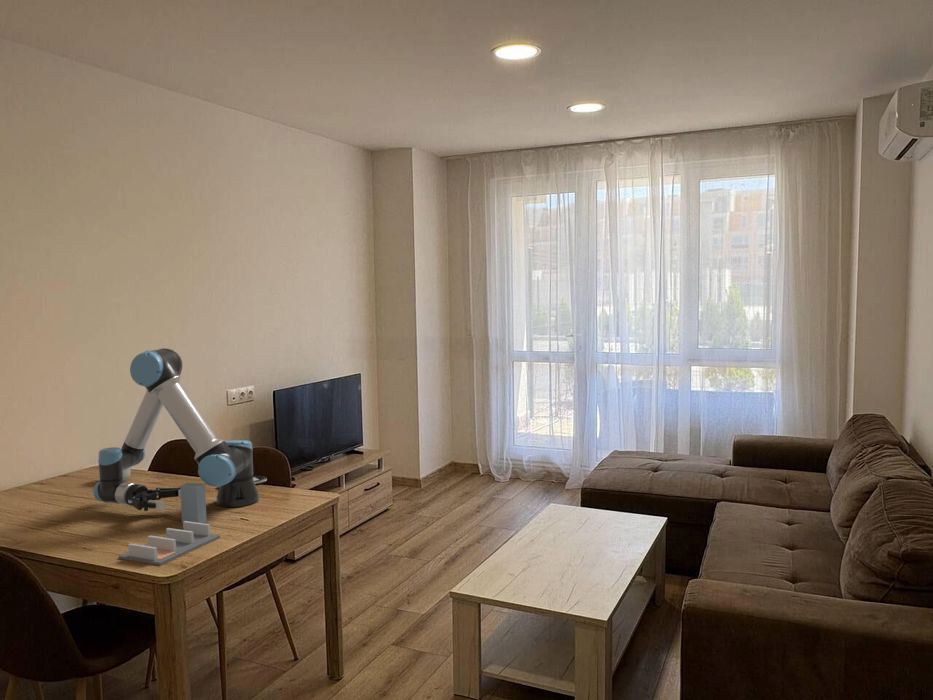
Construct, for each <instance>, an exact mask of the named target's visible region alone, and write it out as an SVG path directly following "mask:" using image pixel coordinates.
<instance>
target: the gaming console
mask: <svg viewBox="0 0 933 700" xmlns="http://www.w3.org/2000/svg"><path fill="white" fill-rule="evenodd" d="M253 480H254V483H255V486H257V485H262V484H266V482H267V480H268V479H267V477H266V476H265V475H256V476H254V475H253ZM219 487H220V486H218V488H219Z"/></svg>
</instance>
